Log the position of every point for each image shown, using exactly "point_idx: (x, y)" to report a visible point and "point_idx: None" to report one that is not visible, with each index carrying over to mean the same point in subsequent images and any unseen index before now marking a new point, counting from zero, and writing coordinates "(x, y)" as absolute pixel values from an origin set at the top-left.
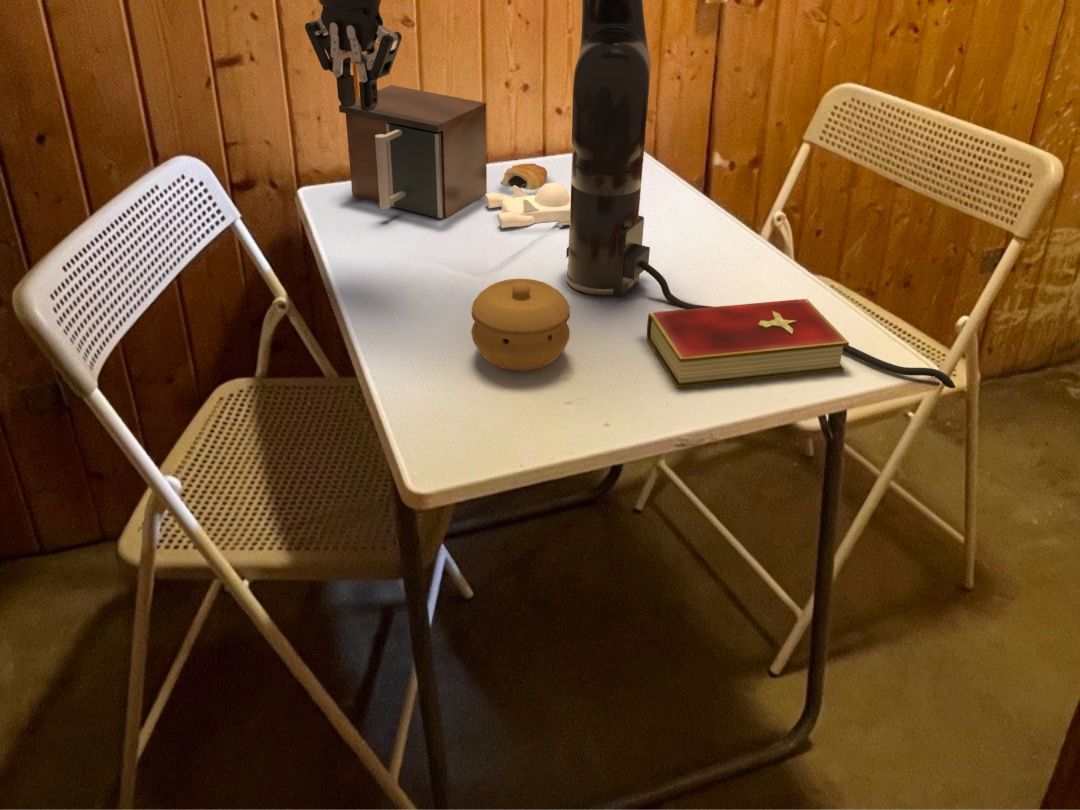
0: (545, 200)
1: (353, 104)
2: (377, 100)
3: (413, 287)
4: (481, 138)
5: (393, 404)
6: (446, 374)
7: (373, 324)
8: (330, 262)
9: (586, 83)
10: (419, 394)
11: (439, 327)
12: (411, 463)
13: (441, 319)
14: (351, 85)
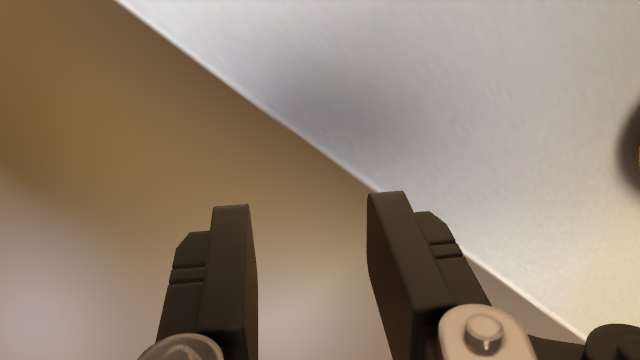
0: None
1: (250, 218)
2: (446, 230)
3: (403, 18)
4: None
5: (556, 298)
6: (594, 217)
7: (419, 174)
8: (163, 26)
9: None
10: (578, 268)
11: (528, 119)
12: None
13: (519, 95)
14: (248, 303)
